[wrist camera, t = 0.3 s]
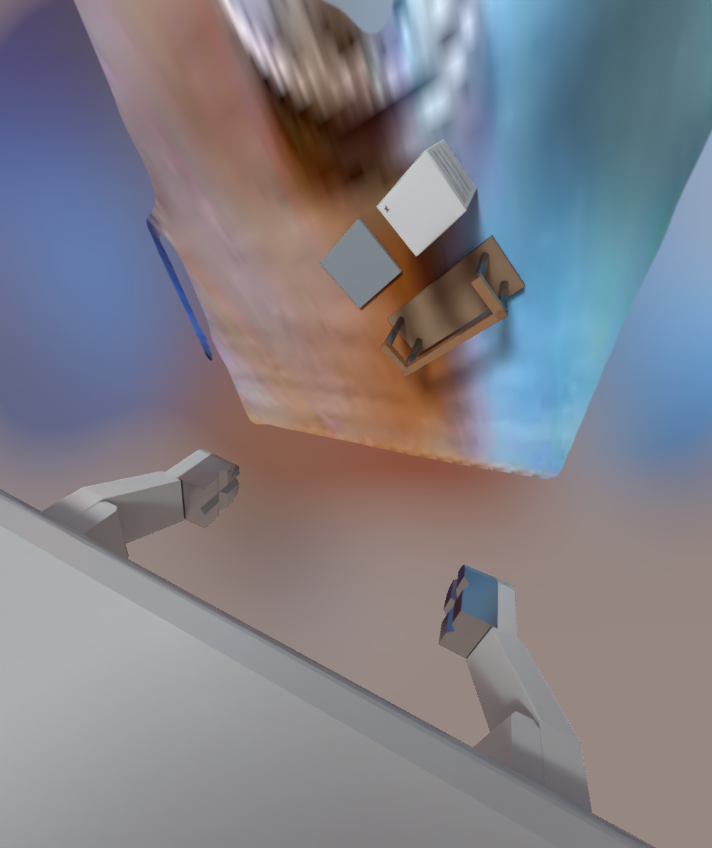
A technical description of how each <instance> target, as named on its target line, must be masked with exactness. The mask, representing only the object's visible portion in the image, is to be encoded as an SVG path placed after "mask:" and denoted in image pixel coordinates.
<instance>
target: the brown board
mask: <svg viewBox="0 0 712 848" xmlns="http://www.w3.org/2000/svg"><path fill="white" fill-rule="evenodd" d="M484 252H487V253H488V254H489V260H488V264H487V269H486V273H485V278H484V279H485V280H486V281H487V283H488V284H489V286H490V287H491V289H492V290H493V291H494V293H495V294H496V296H497V297H498V292H499V285H500V282H501V281H504V280H505V281H507V282H508V294H507V298H508V297H509V296H511V295H513V294H514V293H516V292H517V291H519V290H520V289H522V288H524V287H525V284H524V282H523V281H522V279H521V278H520V276H519V275H518V273H517V272H516V270H515V269H514V267H513V266H512V264H511V263H510V261H509V260H508V258H507V257H506V255H505V254H504V252H503V251H502V249H501V248H500V246H499V245H498V243H497V242H496V240H495V239H494V237H493V236H491V237H489V238H488V239H487V240H486V241H484V242H483V243H482V244H480V245H479V246H478V247H477V248H475V249H474V250H473V251H472V252H470V253H469V254H468V255H466V256H465V257H464V258H463V259H461V260H460V261H459V262H458V263H456V264H455V265H454V266H453V267H451V268H450V269H449V270H447V271H446V272H445V273H444V274H442V275H441V276H440V277H439V278H437V279H436V280H435V281H434V282H432V283H431V284H430V285H428V286H427V287H426V288H425V289H423V290H422V291H421V292H420V293H418V294H417V295H416V296H414V297H413V298H412V299H411V300H409V301H408V302H407V303H406V304H404V305H403V306H402V307H401V308H399V309H398V310H397V311H395V312H394V313H393V314H392V315H390V316H389V317H388V319H387V320H388V321H389V322H390V324H391V325H392V326H394V324H395V323H396V321H397V319H398V317H403V318H404V323H403V324H402V326H401V328H400V330H399V332H398V333H399V334H400V335H401V336H402V338H403V339H404V340H405V341H406V342H407V343H408V345H409V346H410V347H411V348H413V345H414V343H415V341H416V339H417V338H421V339H422V344H421V346H420V349H419V351H418V354H419V353H421V352H423V351H424V350H426V349H427V348H429V347H430V346H432V345H434V344H435V343H437V342H438V341H440V340H441V339H443V338H445V337H446V336H448V335H449V334H451V333H453V332H454V331H456V330H457V329H459V328H460V327H462V326H464V325H465V324H467V323H468V322H470V321H471V320H473V319H475V318H476V317H478V316H479V315H481V314H483V313H484V312H486V311H487V310H489V307H488V306H487V304H486V303H485V302H484V300H483V299H482V298H481V296H480V295H479V293H478V292H477V291H476V289H475V288H474V287H473V285H472V284H471V281H472V279H473V278H474V277H475V274H476V270H477V266H478V263H479V259H480V255H481V254H482V253H484ZM418 354H417V355H418Z"/></svg>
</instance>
